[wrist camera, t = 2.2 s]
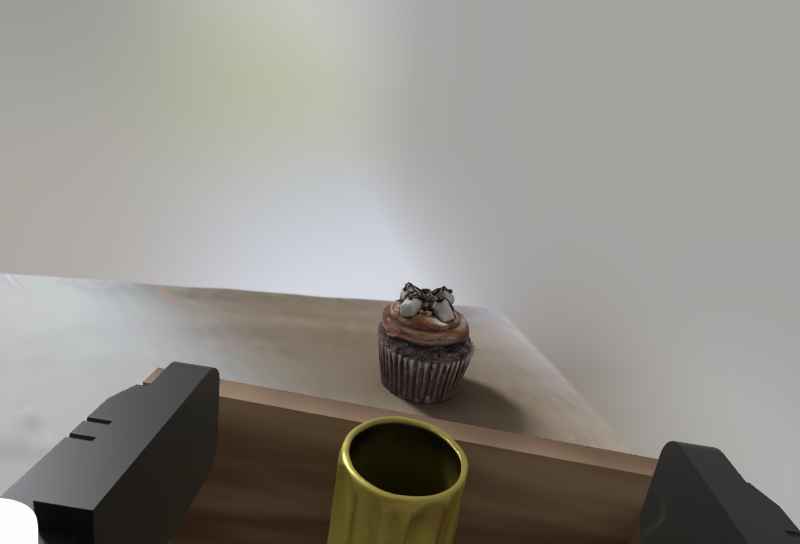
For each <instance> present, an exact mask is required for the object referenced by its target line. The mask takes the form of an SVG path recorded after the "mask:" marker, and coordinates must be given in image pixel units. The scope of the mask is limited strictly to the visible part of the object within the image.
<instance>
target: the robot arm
mask: <svg viewBox="0 0 800 544" xmlns="http://www.w3.org/2000/svg"><path fill="white" fill-rule="evenodd" d="M219 385H220V378H219V372H218V370H217V369H216V368H212V367H206V366H200V365H193V364H187V363H180V362H173V363H171V364H170V365H169V366H168V367H167V368H166V369H165V370H164V371H163V372H162V373H161V374H160V375H159V376H158V377H157V378H156V379H155V380H154V381H153V382H152V383H151V384H150V385H149V386H143V385H135V386H133V387H131V388H129V389H127V390H125V391H122V392H120V393H118V394H116V395H114V396H112V397H110V398H108V399H107V400H106V401H105V402H104V403H102V404H101V405H100V406H99V407H98V408H97V409H96V410H95V411H94V412H93V413H91V414H90V415H89V416H88V417H87V421H83V422H82V423H80V424H79V425H78V426H77V427H76V428H75V429H74V430H73V431H72V432H71V433H70V436H69V437H68V438H67V437H65V438H64V439H63V440H62V441H61V442H60V443H59V444H57V445H56V446H55V447H54V448H53V449H52V450H51V451H50V452H49V453H48V454H46V455H45V456H44V457H43V458H42V459H41V460H40V461H39V462H38V463H37V464H35V465H34V466H33V467H32V468H31V469H30V470H29V471H28V472H27V473H26V474H25V475H23V476H22V477H21V478H20V479H19V480H18V481H17V482H16V483H15V484H14V485H12V486H11V487H10V488H9V489H8V490H7V491H6V492H5V493H4V494H3V495H1V496H0V544H167V543H168V541H169V540H170V538H171V536H172V535H173V533H174V531H175V530H176V528H177V526H178V525H179V523H180V521H181V520H182V518H183V517H184V515H185V513H186V512H187V510H188V508H189V507H190V505H191V503H192V502H193V500H194V499H195V497H196V495H197V494H198V492H199V490H200V489H201V487H202V485H203V484H204V482H205V480H206V479H207V477H208V475H209V473H210V470H211V468H212V465H213V462H214V458H215V454H216V449H217V440H218V413H219ZM639 534H640V541H641V544H800V531H799V529H798V528H797V527H796V526H795V525H794V523H793V522H792V521H791V520H790V518H789V517H788V516H787V515H786V514H785V512H784V511H783V510H782V509H781V508H780V507H779V506H778V505H777V504H776V503H774V502H773V501H772V500H770V499H769V498H768V497H767V496H765V495H764V494H763V493H761V492H760V491H759V490H758V489H756V488H755V487H754V486H753V485H751V484H750V483H747V482H745V480H744V479H743V478H742V477H741V475H740V474H739V473H738V472H737V470H736V469H735V468H734V467H733V465H732V464H731V463H730V461H729V460H728V459H727V458H726V456H725V455H724V454H723V453H722V452H721V451H720V450H719V449H717V448H714V447H707V446H701V445H695V444H688V443H682V442H676V441H671V442H668V443H667V444H666V445H665V446H664V447H663V449H662V451H661V454H660V457H659V460H658V463H657V466H656V469H655V471H654V474H653V477H652V480H651V483H650V486H649V489H648V492H647V495H646V498H645V501H644V504H643V507H642V510H641V513H640V520H639Z"/></svg>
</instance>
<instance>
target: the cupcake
mask: <svg viewBox="0 0 800 544" xmlns="http://www.w3.org/2000/svg"><path fill="white" fill-rule="evenodd" d="M451 293H452V290H450V289H447V288H446V287H445V286H443V287H442V288H437V289H435V290H433V291H432V292H431V290H430V289H422V290H421V289H419V288H418V287H416V286H414V285H412V283H409V282H408V283H407V284H406V285H405V287H404V288H403V289H402V290H401V293H400V299H399V300H396V301H394V302H392V303H391V304H389V305H388V306H387V307H386V308H385V310H384V311H383V315H382V322H381V323H380V325H379V328H378V345H379V362H380V372H381V381H382V383H383V385H384V386H385V387H386V388H387V389H388V390H389V391H390V392H391V393H392V394H394V395H397V396H398V397H400V398H403V399H405V400H408V401H412V402H416V403H426V404H436V403H441V402H445V401H447V400H449V399H451V398H452V397H453V396H455V394H456V392H457V389H458V388H459V385H460V383H461V380H462V378H463V376H464V374H465V371H466V369H467V367H468V365H469V363H470V360H471V358H472V356H473V354H474V350H475V349H474V347H475V346H474V345H473V342H472V343H471V339H470V337H469V327H468V322H467V321H466V319H465V317H464V316H463V315H462V314H460V313H459V312H457V311H456V310H454V308H453V306H452V304H453V302H454V296H453V295H452V294H451Z"/></svg>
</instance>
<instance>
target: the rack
mask: <svg viewBox="0 0 800 544" xmlns="http://www.w3.org/2000/svg"><path fill="white" fill-rule="evenodd" d="M164 370H165V369H162V368H157V369H156V370H155V371H154V372H153V373H152V374H151V375H150V376H149V377H148V378H147V379H146V380H145V381H144V382H143V386H149V385H150V384H151V383H152V382H153V381H154V380H155V379H156V378H157V377H158V376H159V375H160V374H161V373H162V372H163V371H164ZM388 416H400V417H407V418H411V419H416V420H420V421H424V422H427V423H429V424H432V425H434V426H436V427H437V428H439V429H441V430H442V431H444V432H445V433H446V434H448V435H449V436H450V437H451V438H452V439H453V440H454V441H455V442H456V443H457V444H458V445H459V446H460V447H461V449H462V450H463V452H464V454H465V456H466V458H467V461H468V473H467V477H466V482H465V486H464V490H463V496H462V501H461V506H460V512H459V517H458V522H457V527H456V532H455V536H454V541H453V544H641V541H640V534H639V520H640V513H641V510H642V507H643V504H644V501H645V498H646V495H647V492H648V489H649V486H650V483H651V480H652V477H653V474H654V471H655V469H656V466H657V463H658V460H659V459H653V458H647V457H642V456H637V455H632V454H626V453H621V452H615V451H610V450H604V449H599V448H593V447H588V446H583V445H577V444H572V443H566V442H561V441H555V440H550V439H544V438H539V437H533V436H528V435H522V434H517V433H512V432H506V431H501V430H495V429H490V428H484V427H479V426H473V425H468V424H462V423H457V422H451V421H446V420H441V419H435V418H430V417H424V416H419V415H413V414H408V413H402V412H397V411H391V410H386V409H381V408H375V407H370V406H364V405H359V404H353V403H348V402H342V401H337V400H331V399H326V398H320V397H315V396H310V395H304V394H299V393H293V392H288V391H282V390H277V389H271V388H266V387H260V386H255V385H249V384H244V383H239V382H233V381H228V380H222V379H220V385H219V413H218V440H217V449H216V454H215V458H214V462H213V465H212V468H211V470H210V473H209V475H208V477H207V479H206V480H205V482H204V484H203V485H202V487H201V489H200V490H199V492H198V494H197V495H196V497H195V499H194V500H193V502H192V503H191V505H190V507H189V508H188V510H187V512H186V513H185V515H184V517H183V518H182V520H181V521H180V523H179V525H178V526H177V528H176V530H175V531H174V533H173V535H172V536H171V538H170V540H169V541H168V543H167V544H327V541H328V535H329V529H330V519H331V511H332V504H333V497H334V490H335V482H336V475H337V464H338V457H339V452H340V450H341V447H342V445H343V443H344V440H345V438H346V436H347V435H348V433H349V432H350V431H352V430H353V429H354V428H355V427H357V426H358V425H360V424H362V423H364V422H366V421H368V420H371V419H375V418H380V417H388Z"/></svg>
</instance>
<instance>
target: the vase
mask: <svg viewBox="0 0 800 544" xmlns="http://www.w3.org/2000/svg"><path fill="white" fill-rule="evenodd" d="M467 473H468V461H467V458H466V456H465V454H464V452H463V450H462V449H461V447H460V446H459V445H458V444H457V443H456V442H455V441H454V440H453V439H452V438H451V437H450V436H449V435H448V434H446V433H445V432H444V431H442V430H441V429H439V428H437V427H436V426H434V425H432V424H429V423H427V422H424V421H420V420H416V419H411V418H407V417H400V416H388V417H380V418H375V419H371V420H368V421H366V422H364V423H362V424H360V425H358V426H357V427H355V428H354V429H353V430H352V431H350V432H349V433H348V435H347V436H346V438H345V440H344V443H343V445H342V447H341V450H340V452H339V457H338V464H337V475H336V482H335V490H334V497H333V504H332V511H331V519H330V529H329V535H328V541H327V544H453V541H454V536H455V532H456V527H457V522H458V517H459V512H460V506H461V501H462V496H463V490H464V486H465V482H466V477H467Z"/></svg>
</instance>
